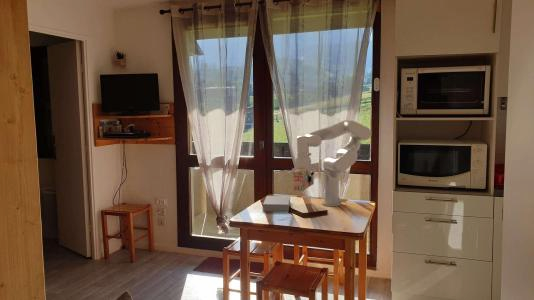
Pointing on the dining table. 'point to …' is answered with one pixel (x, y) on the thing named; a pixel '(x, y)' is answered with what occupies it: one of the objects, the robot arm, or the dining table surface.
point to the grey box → (276, 203)
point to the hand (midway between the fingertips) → (303, 182)
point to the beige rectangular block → (302, 179)
